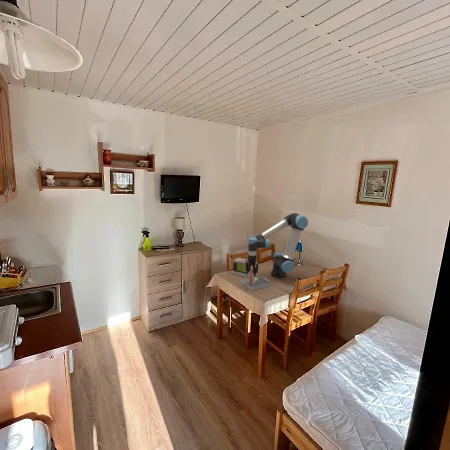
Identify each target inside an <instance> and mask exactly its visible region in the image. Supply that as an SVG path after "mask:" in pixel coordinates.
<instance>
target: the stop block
mask: <svg viewBox="0 0 450 450" xmlns="http://www.w3.org/2000/svg"><path fill="white" fill-rule="evenodd" d="M262 278H263V281H264V282H266V283H267V284H269V283H271V280H270V279H268V278H266V277H262Z"/></svg>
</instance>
